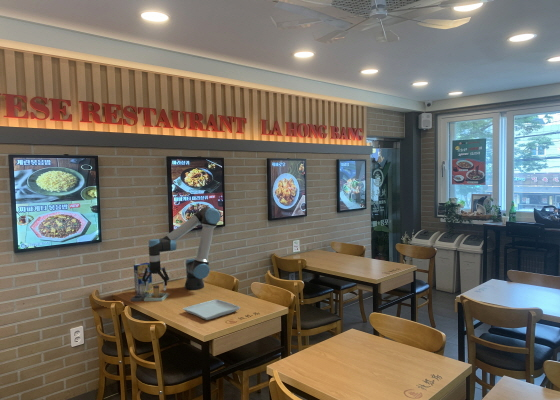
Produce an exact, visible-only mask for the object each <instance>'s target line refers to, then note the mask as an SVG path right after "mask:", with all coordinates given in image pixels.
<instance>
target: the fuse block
mask: <svg viewBox="0 0 560 400" xmlns="http://www.w3.org/2000/svg"><path fill="white" fill-rule="evenodd" d="M149 294H150V292H145V295H140V292H139V293H138V294H137V293H136V294H134V296H132V297H130V302H142V301H144V298H145V297H146V296H148V295H149Z"/></svg>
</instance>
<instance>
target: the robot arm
mask: <svg viewBox="0 0 560 400" xmlns="http://www.w3.org/2000/svg"><path fill="white" fill-rule="evenodd" d="M220 220H221V213H220V212H219V210H218V209H217V208H214V207H203V208H201V209H200V210H198V211H197V212H195V213H194V214H193V215H192V217H191V218H189V219H188V220H186V221H185V222H183V223H182V224H181V225H179V226H178V227H176V228H175V229H173V230H172V231H171V232H168V233H167V234H166V235H165V236H164V237H160V238H153V239H152V238H151V239H149V240H148V257H149V259H148V260H149V262H148V263H149V264H150V268H148V267H147V268H145V273H144V276H143V278H142V281H144V282H145V286H146V291H148V290H149V285H148V281H147V280H148V279H149V277H150V276H151V274H152V275H155V274H156V275H157V274H158V276H159V277H160V278H161V279H162V280H163V282H162V283H163V285H162V286H163V291H166V290H167V286H168V281H169V280H170V277H169V275H168V273H167V270H166V267H165V266H164V267H162V266H161V253H162V252H172V251H176V250H177V249H178V246H177V240H179V239H180V238H182V237H183V236H184V235H186V234H187V233H189V232H190V231H191V230H193V229H195V228H196V227H197V226H202V228H201V234H200V239H199V243H198V248H197V255H196V257H194V258H188V259H186V261H185V271H186V273H185V274H186V280H185V284H184V289H185V290H187V291H188V290H189V291H194V290H195V291H196V290H200V289H203V288H204V287H205V283H204V280H203V279H206V278H207V277H208V276H209V274H210V272H211V271H210V269H211V268H210V267H209V264H210V260H209V254H210V251H211V249H210V248H211V243H212V239H213V236H214V235H213V234H214V231H215V228H217V226H218V225H217V224H218V222H219V221H220ZM149 270H150V271H151V272H150V273H149V275H148V276H147V278H146V275H147V272H148V271H149ZM145 278H146V279H145Z"/></svg>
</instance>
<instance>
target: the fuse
mask: <svg viewBox="0 0 560 400" xmlns="http://www.w3.org/2000/svg"><path fill="white" fill-rule="evenodd" d="M139 289H140V295H145V284H144V283H142V284H139Z"/></svg>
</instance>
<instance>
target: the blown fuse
mask: <svg viewBox="0 0 560 400" xmlns="http://www.w3.org/2000/svg"><path fill="white" fill-rule="evenodd" d="M152 293H153V294H154V296H153V298H160V296H159V293H160V285H159V284H158V285H152Z"/></svg>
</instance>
